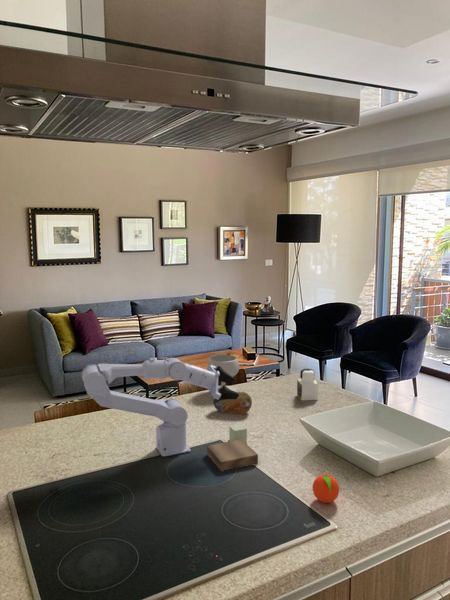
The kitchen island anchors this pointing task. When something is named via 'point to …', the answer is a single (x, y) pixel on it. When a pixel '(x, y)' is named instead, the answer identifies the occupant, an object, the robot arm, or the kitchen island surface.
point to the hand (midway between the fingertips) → (235, 388)
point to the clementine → (325, 488)
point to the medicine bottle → (307, 385)
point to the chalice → (225, 366)
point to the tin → (234, 404)
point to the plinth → (232, 454)
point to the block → (237, 433)
